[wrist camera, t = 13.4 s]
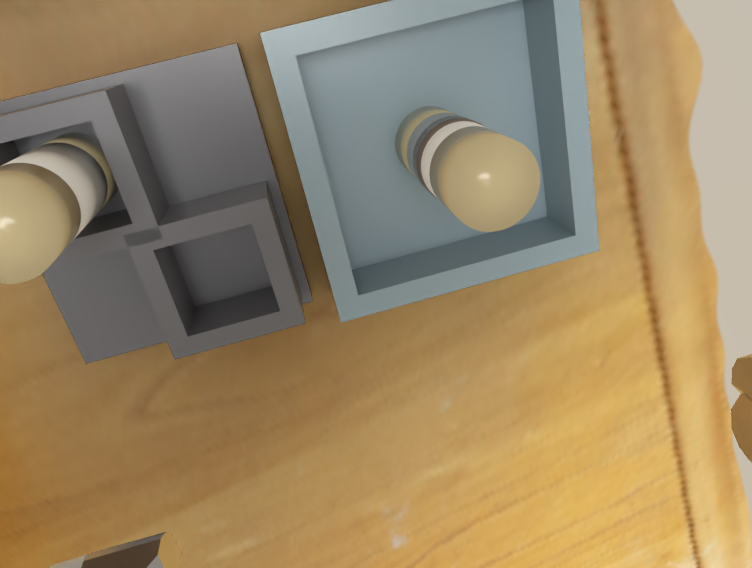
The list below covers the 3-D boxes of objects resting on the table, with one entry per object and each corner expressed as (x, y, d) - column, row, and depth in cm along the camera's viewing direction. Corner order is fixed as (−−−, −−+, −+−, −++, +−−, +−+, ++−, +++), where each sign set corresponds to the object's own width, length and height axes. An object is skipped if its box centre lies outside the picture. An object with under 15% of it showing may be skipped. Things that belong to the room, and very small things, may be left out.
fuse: (132, 196, 30) (76, 268, 21) (59, 215, 30) (-29, 296, 21) (103, 124, 29) (29, 167, 20) (27, 143, 29) (-84, 196, 20)
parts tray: (564, 227, 36) (599, 250, 32) (332, 291, 35) (340, 322, 31) (537, -36, 30) (575, -45, 27) (260, 32, 30) (259, 33, 26)
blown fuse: (468, 166, 33) (546, 219, 24) (402, 184, 33) (455, 244, 24) (457, 97, 32) (535, 124, 23) (387, 115, 31) (438, 150, 22)
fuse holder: (311, 294, 35) (317, 329, 31) (90, 354, 34) (67, 399, 30) (237, 43, 30) (232, 45, 25) (-28, 108, 29) (-77, 121, 25)
